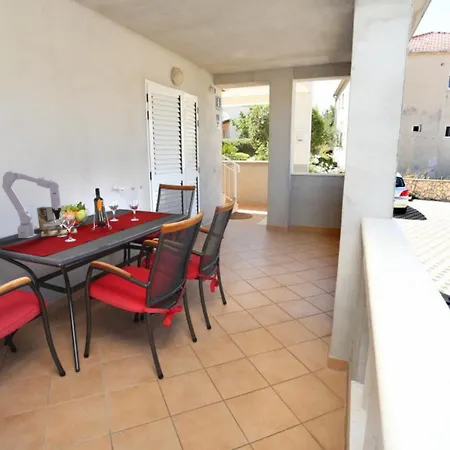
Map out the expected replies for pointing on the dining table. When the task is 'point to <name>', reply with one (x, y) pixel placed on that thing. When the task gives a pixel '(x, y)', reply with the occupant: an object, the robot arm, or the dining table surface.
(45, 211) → the coffee box
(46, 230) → the display stand
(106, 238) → the dining table surface
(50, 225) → the glasses frame
